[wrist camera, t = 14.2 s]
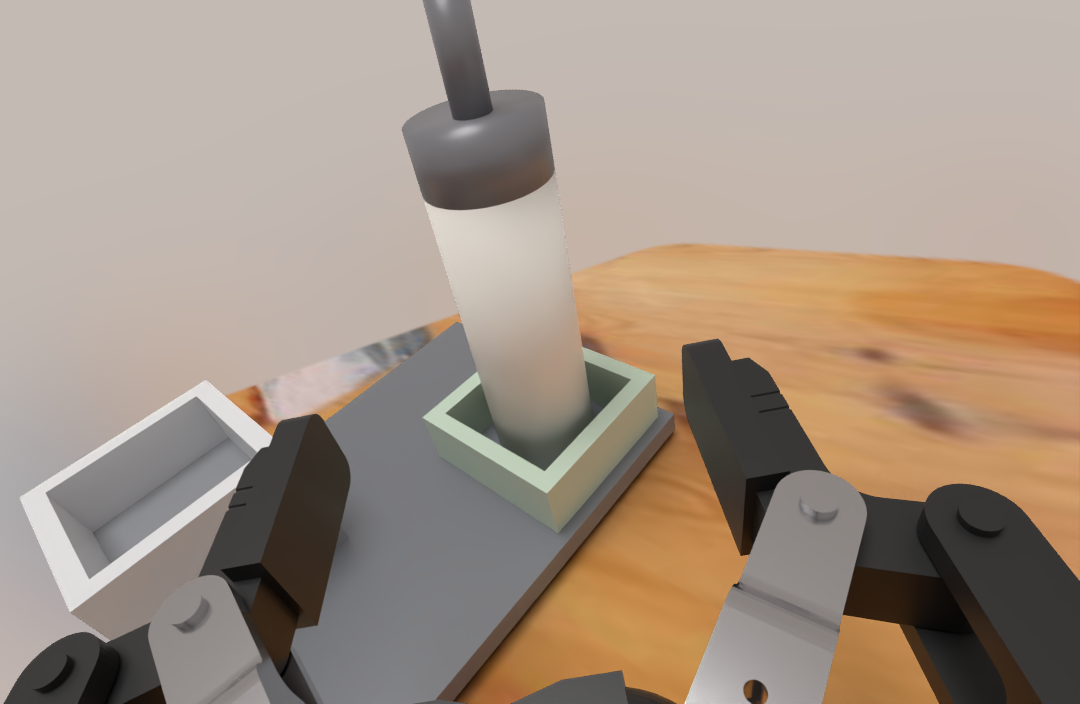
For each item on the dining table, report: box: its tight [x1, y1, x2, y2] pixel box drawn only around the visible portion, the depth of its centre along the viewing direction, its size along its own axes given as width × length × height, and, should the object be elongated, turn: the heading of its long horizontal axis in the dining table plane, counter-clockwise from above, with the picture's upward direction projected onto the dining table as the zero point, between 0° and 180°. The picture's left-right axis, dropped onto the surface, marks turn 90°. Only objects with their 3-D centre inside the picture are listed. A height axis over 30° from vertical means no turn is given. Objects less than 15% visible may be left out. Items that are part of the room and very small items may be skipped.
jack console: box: [20, 322, 675, 704], centre depth 23 cm, size 20×14×6 cm
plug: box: [402, 0, 593, 471], centre depth 20 cm, size 4×4×18 cm
